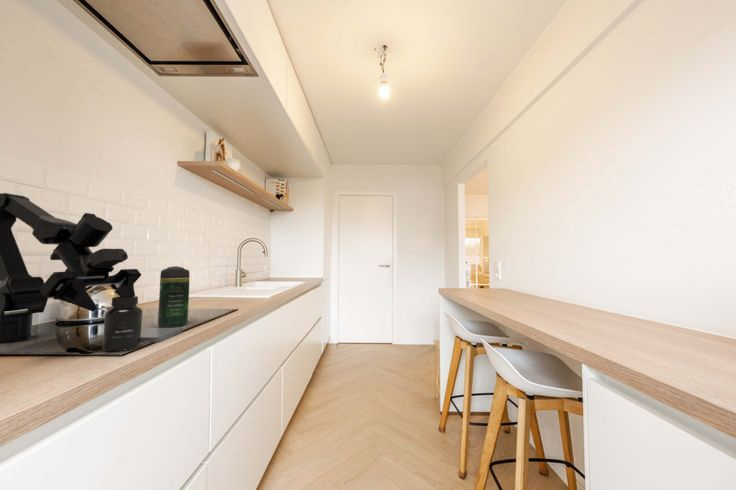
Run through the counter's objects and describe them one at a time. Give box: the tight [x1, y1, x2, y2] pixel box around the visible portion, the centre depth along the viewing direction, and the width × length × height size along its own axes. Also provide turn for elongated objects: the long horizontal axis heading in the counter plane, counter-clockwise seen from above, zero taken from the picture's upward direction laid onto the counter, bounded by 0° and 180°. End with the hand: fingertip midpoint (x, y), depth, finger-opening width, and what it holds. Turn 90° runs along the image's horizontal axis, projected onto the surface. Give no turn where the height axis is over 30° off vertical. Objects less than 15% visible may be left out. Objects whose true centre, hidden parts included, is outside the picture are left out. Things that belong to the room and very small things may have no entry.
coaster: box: [140, 327, 184, 343], centre depth 78 cm, size 10×10×1 cm
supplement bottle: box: [102, 295, 143, 352], centre depth 69 cm, size 7×7×12 cm
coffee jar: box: [157, 265, 190, 328], centre depth 93 cm, size 10×8×19 cm
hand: (116, 306), depth 69 cm, fingers open, 9 cm apart
